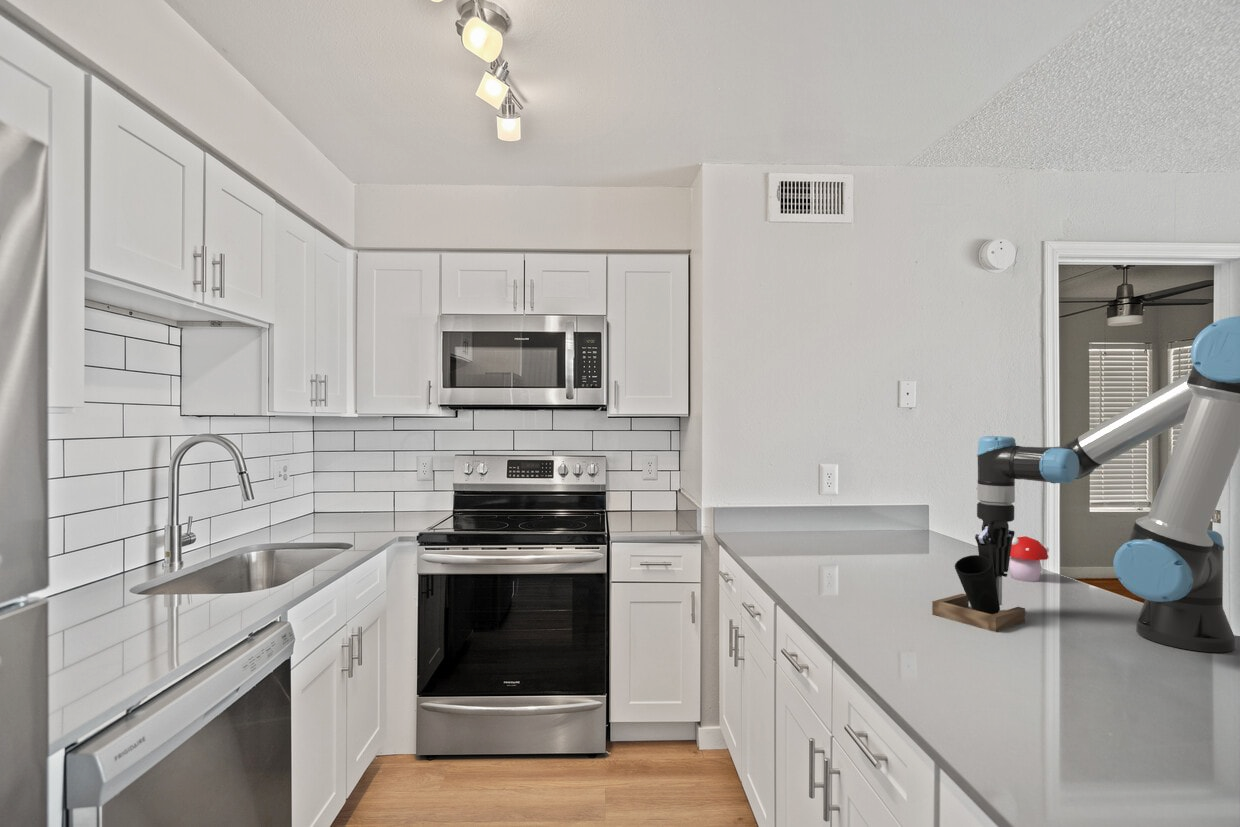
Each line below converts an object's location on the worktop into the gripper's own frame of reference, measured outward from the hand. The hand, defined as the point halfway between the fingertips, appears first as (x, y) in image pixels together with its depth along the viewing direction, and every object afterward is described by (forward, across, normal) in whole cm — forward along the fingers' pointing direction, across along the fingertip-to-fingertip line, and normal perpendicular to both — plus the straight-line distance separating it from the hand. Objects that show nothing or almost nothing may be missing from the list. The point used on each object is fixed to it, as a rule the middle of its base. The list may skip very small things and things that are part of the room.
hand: (994, 603), depth 150 cm
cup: (+1, +4, 0) cm, 4 cm away
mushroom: (+3, -39, -12) cm, 41 cm away
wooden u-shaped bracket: (+2, +8, +1) cm, 8 cm away
